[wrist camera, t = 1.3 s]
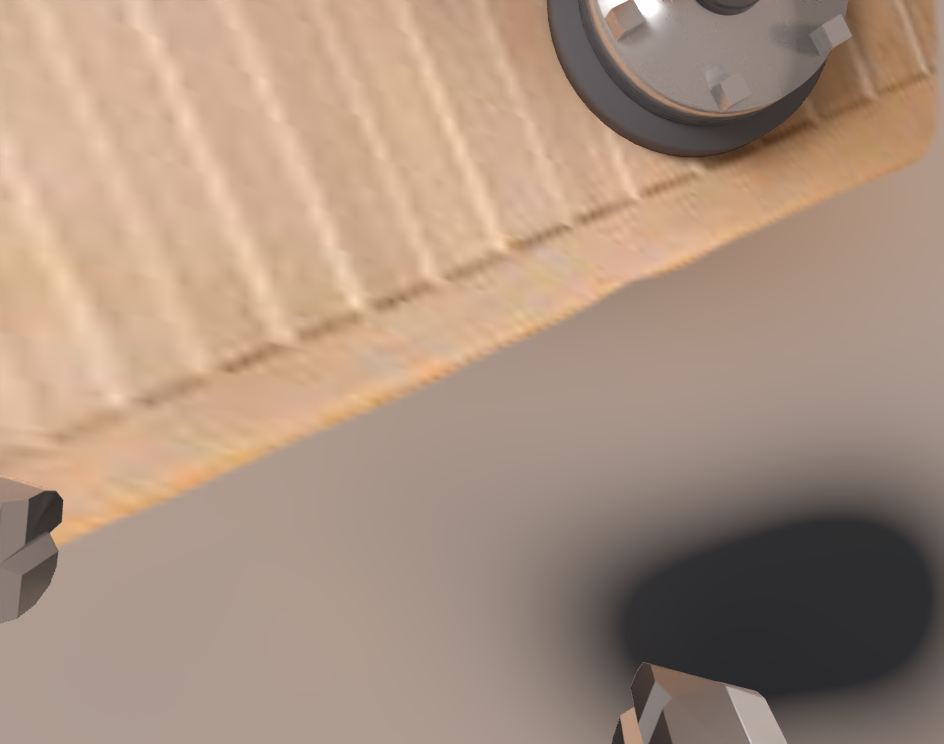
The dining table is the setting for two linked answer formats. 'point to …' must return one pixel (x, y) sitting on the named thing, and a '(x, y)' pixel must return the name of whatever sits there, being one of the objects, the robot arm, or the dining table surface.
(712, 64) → the round lugged disc
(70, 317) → the dining table surface
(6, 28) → the dining table surface
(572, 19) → the base plate
